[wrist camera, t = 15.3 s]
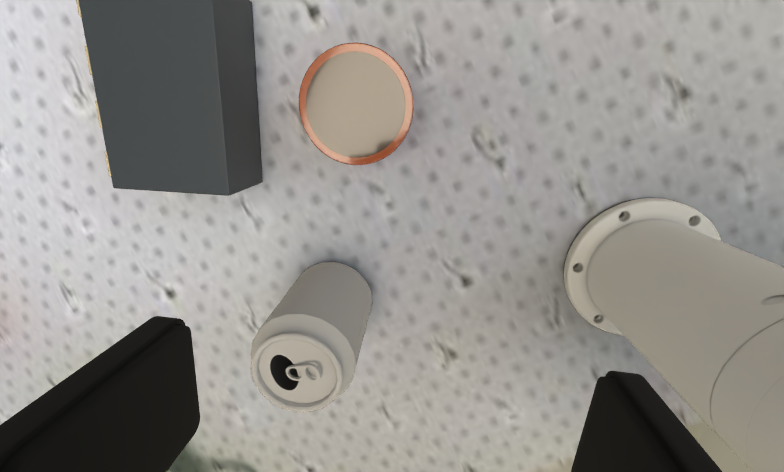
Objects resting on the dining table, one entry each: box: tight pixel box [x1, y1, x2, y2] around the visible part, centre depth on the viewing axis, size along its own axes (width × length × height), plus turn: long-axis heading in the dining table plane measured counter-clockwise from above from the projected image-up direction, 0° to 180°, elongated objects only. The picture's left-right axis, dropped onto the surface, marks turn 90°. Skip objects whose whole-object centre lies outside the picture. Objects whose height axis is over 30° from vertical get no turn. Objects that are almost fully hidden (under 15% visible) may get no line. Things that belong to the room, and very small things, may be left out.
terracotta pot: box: [299, 43, 414, 165], centre depth 27 cm, size 7×7×7 cm
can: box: [251, 262, 372, 412], centre depth 30 cm, size 8×8×12 cm
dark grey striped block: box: [76, 0, 262, 196], centre depth 28 cm, size 9×14×6 cm, turn 177°
